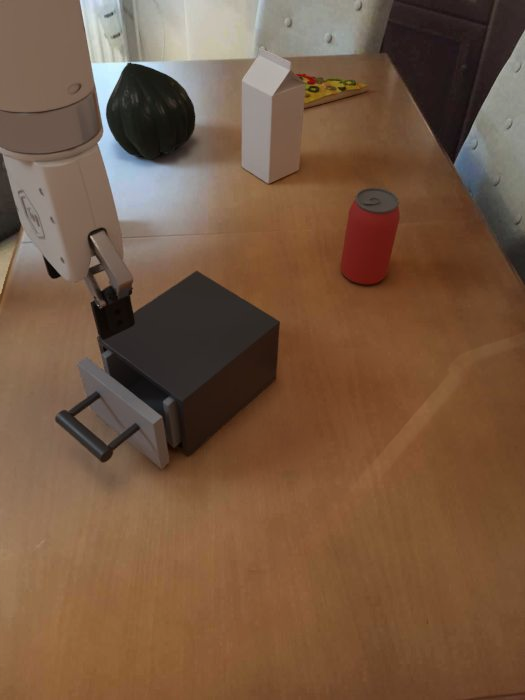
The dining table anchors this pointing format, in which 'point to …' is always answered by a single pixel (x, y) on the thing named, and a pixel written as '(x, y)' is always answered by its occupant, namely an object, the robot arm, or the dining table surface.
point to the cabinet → (201, 353)
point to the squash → (149, 112)
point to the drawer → (124, 411)
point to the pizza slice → (328, 89)
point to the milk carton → (271, 118)
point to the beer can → (370, 235)
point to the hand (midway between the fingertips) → (90, 300)
